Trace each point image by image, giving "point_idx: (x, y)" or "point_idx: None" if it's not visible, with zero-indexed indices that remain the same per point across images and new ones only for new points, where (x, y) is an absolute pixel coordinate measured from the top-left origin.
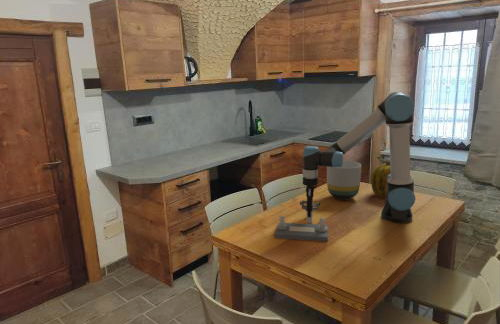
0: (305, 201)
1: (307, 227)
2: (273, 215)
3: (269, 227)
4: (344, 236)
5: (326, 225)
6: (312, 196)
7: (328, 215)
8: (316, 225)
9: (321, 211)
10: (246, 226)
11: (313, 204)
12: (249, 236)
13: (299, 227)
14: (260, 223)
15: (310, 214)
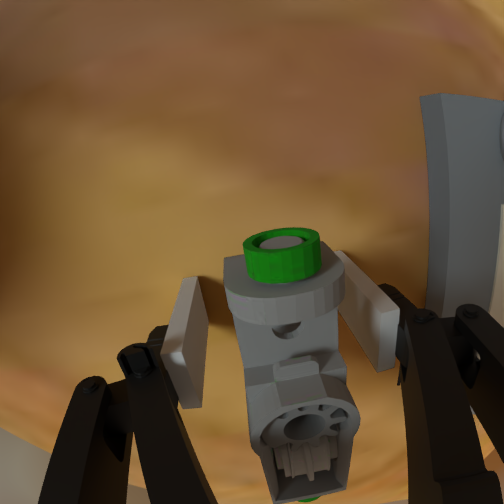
0: (275, 474)
1: (501, 256)
2: (251, 480)
3: None
4: (477, 4)
5: (452, 104)
6: (494, 486)
7: (84, 134)
8: (467, 194)
9: (23, 226)
10: (399, 485)
11: (313, 357)
12: (480, 435)
13: (498, 306)
14: (370, 476)
15: (404, 299)
